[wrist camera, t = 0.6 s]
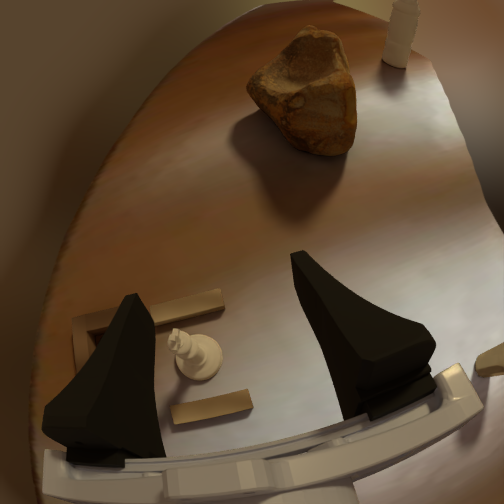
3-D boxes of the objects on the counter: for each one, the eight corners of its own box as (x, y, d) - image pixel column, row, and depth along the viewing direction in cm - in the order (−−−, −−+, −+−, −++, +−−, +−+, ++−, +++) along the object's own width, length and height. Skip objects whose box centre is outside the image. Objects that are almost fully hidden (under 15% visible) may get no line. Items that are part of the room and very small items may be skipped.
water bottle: (410, 70, 59) (430, -8, 37) (388, 67, 59) (406, -16, 37) (398, 59, 62) (415, -16, 40) (377, 55, 62) (391, -22, 40)
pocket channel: (253, 407, 27) (253, 407, 26) (177, 423, 26) (174, 424, 25) (221, 292, 33) (219, 288, 32) (153, 309, 32) (149, 306, 31)
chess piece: (223, 336, 31) (207, 307, 22) (221, 382, 28) (203, 373, 20) (178, 333, 31) (145, 304, 22) (174, 378, 29) (138, 366, 20)
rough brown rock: (253, 87, 54) (243, 23, 41) (336, 85, 52) (339, 21, 38) (246, 169, 44) (229, 86, 30) (357, 168, 42) (374, 85, 28)
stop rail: (152, 432, 26) (145, 433, 24) (97, 436, 25) (88, 437, 23) (129, 311, 32) (122, 305, 30) (80, 322, 31) (71, 317, 30)
